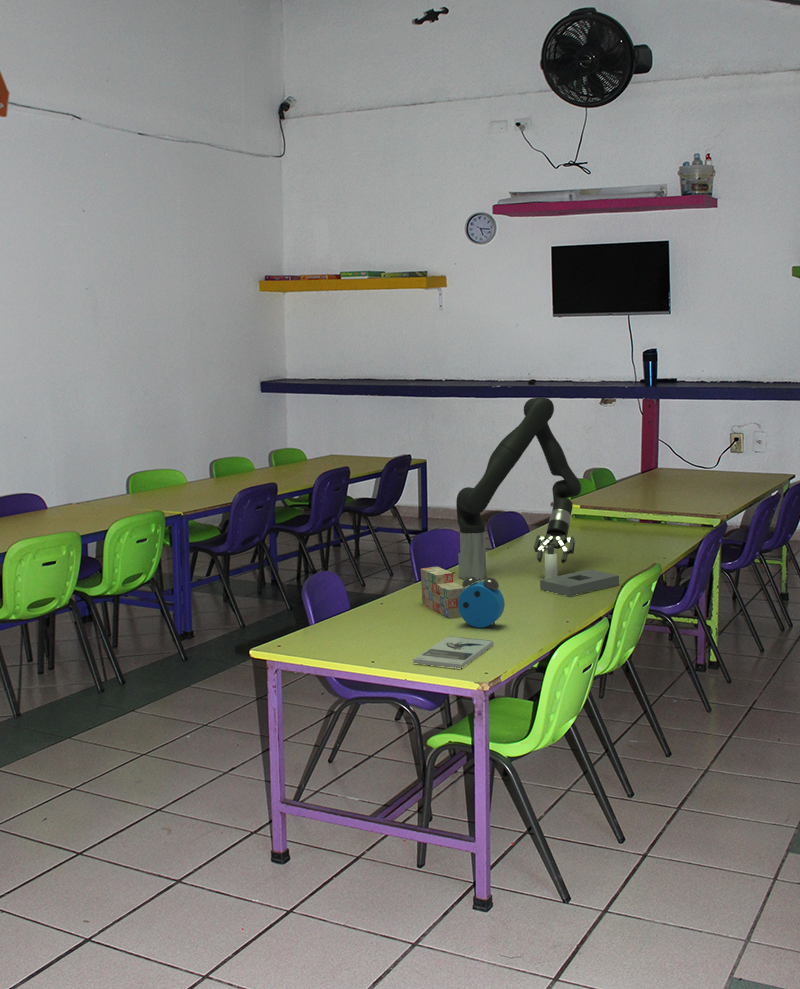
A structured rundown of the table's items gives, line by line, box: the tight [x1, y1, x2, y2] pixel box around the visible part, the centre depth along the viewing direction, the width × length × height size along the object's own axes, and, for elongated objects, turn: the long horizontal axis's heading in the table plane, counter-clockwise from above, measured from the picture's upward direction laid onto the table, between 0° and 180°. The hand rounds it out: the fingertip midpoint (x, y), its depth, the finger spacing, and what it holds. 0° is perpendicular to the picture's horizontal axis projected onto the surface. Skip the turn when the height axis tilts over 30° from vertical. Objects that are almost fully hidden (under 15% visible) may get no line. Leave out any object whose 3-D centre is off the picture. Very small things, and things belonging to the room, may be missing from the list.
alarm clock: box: [458, 577, 505, 629], centre depth 297 cm, size 13×6×15 cm, turn 65°
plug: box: [544, 545, 558, 579], centre depth 352 cm, size 4×4×13 cm
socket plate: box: [539, 568, 620, 597], centre depth 341 cm, size 24×14×4 cm, turn 125°
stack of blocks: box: [420, 566, 466, 619], centre depth 319 cm, size 21×6×12 cm, turn 22°
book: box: [413, 635, 494, 668], centre depth 271 cm, size 23×14×2 cm, turn 153°
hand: (550, 561), depth 352 cm, fingers open, 8 cm apart
